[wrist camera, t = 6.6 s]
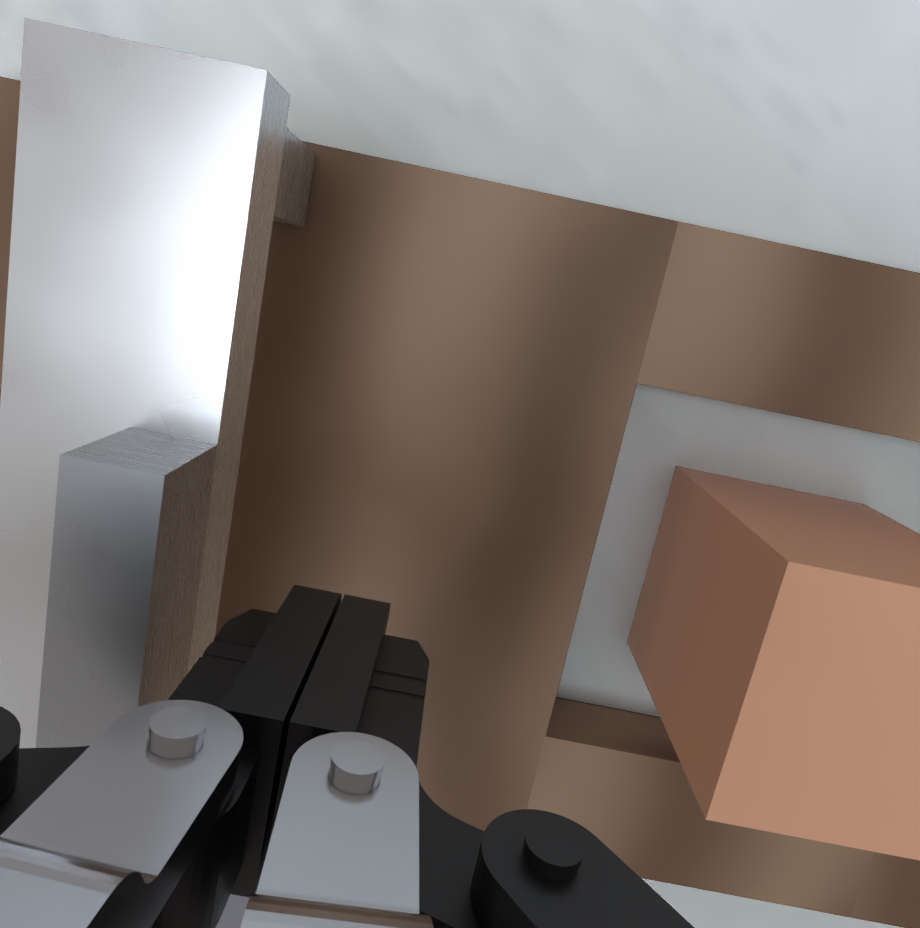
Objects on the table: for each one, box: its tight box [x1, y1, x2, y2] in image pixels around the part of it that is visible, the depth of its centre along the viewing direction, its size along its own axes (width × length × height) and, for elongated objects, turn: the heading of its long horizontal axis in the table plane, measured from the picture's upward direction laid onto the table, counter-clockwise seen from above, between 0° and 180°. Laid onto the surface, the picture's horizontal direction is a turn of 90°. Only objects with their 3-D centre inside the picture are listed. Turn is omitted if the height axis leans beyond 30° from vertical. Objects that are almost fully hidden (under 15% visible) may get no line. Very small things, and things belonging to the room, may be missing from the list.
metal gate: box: [0, 18, 315, 748], centre depth 13 cm, size 3×16×8 cm, turn 168°
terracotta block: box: [627, 466, 920, 860], centre depth 16 cm, size 5×5×7 cm
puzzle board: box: [0, 77, 920, 928], centre depth 18 cm, size 28×16×2 cm, turn 78°
